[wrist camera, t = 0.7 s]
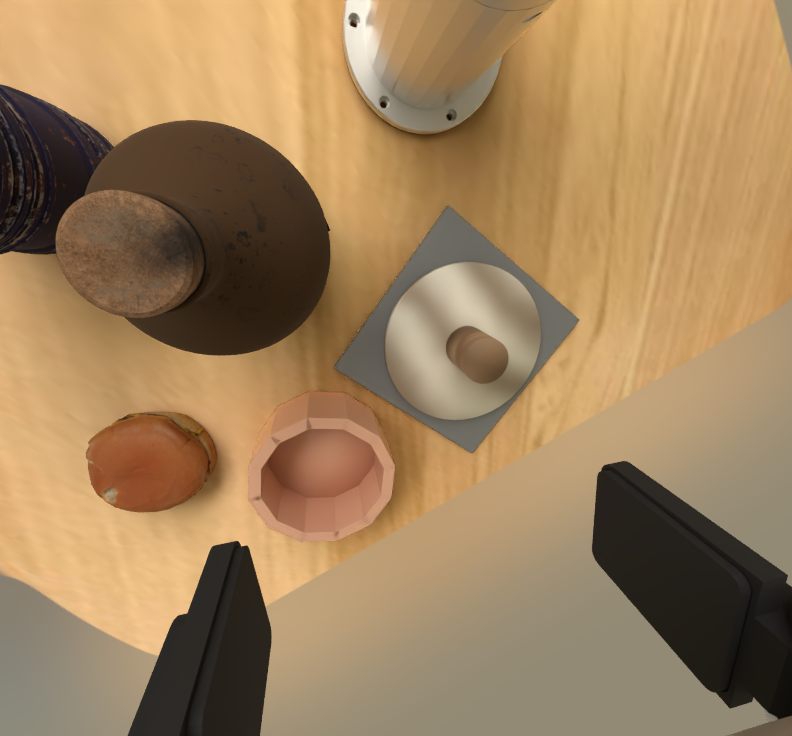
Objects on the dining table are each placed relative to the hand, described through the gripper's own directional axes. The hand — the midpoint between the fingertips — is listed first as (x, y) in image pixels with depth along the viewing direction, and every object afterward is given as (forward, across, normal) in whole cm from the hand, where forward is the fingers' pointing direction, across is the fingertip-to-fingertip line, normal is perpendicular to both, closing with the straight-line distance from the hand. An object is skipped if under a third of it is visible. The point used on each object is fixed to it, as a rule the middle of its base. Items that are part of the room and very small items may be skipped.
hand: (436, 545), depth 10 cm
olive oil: (+29, +6, -8) cm, 30 cm away
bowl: (+29, +5, +12) cm, 31 cm away
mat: (+28, -10, +3) cm, 30 cm away
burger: (+29, +20, +10) cm, 36 cm away
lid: (+28, -10, +3) cm, 30 cm away
